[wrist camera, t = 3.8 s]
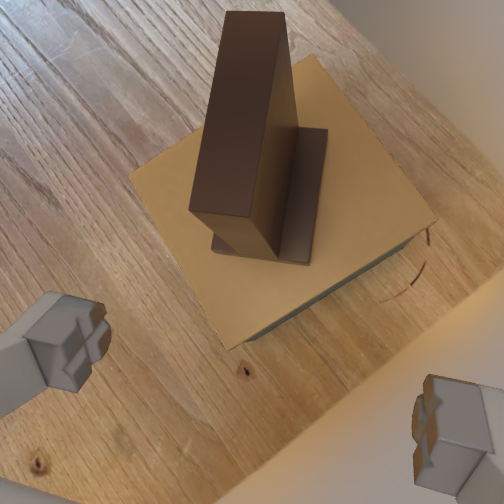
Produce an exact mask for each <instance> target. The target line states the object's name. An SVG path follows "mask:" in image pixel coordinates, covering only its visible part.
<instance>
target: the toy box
mask: <svg viewBox="0 0 504 504" xmlns="http://www.w3.org/2000/svg"><path fill="white" fill-rule="evenodd" d="M291 69H292V77H293V85H294V92H295V100H296V108H297V116H298V124H299V127H309V128H322V129H328V142H327V149H326V156H325V163H324V169H323V176H322V183H321V190H320V197H319V204H318V211H317V218H316V225H315V232H314V239H313V246H312V252H311V259H310V265H309V266H303V265H296V264H289V263H282V262H274V261H267V260H260V259H253V258H246V257H239V256H231V255H224V254H217V253H215V252H213V251H212V250H211V244H212V239H213V233H214V232H213V231H212V230H211V229H210V228H208V227H207V226H206V225H205V224H204V223H203V222H201V221H200V220H199V219H198V218H197V217H195V216H194V215H193V214H192V213H191V212H190V211H188V207H189V202H190V197H191V191H192V186H193V181H194V176H195V171H196V165H197V160H198V155H199V150H200V145H201V140H202V134H203V129H204V125H203V126H201V127H200V128H198V129H197V130H195V131H194V132H192V133H191V134H189V135H188V136H186V137H185V138H183V139H182V140H180V141H179V142H177V143H176V144H174V145H173V146H171V147H170V148H168V149H167V150H165V151H163V152H162V153H160V154H159V155H157V156H156V157H154V158H153V159H151V160H150V161H148V162H147V163H145V164H144V165H142V166H141V167H139V168H138V169H136V170H135V171H133V172H132V173H130V174H129V175H128V176H129V178H130V180H131V182H132V183H133V185H134V187H135V189H136V191H137V192H138V194H139V196H140V198H141V199H142V201H143V203H144V205H145V207H146V208H147V210H148V212H149V214H150V215H151V217H152V219H153V221H154V223H155V224H156V226H157V228H158V230H159V231H160V233H161V235H162V237H163V239H164V240H165V242H166V244H167V246H168V247H169V249H170V251H171V253H172V255H173V256H174V258H175V260H176V262H177V263H178V265H179V267H180V269H181V271H182V272H183V274H184V276H185V278H186V279H187V281H188V283H189V285H190V287H191V288H192V290H193V292H194V294H195V295H196V297H197V299H198V301H199V303H200V304H201V306H202V308H203V310H204V311H205V313H206V315H207V317H208V319H209V320H210V322H211V324H212V326H213V327H214V329H215V331H216V333H217V335H218V336H219V338H220V340H221V342H222V343H223V345H224V347H225V349H226V351H230V350H232V349H234V348H235V347H237V346H239V345H240V344H242V343H244V342H249V341H254V340H256V339H258V338H259V337H261V336H262V335H264V334H266V333H267V332H269V331H270V330H272V329H274V328H275V327H277V326H278V325H280V324H282V323H283V322H285V321H287V320H288V319H290V318H291V317H293V316H295V315H296V314H298V313H299V312H301V311H303V310H304V309H306V308H307V307H309V306H311V305H312V304H314V303H315V302H317V301H319V300H320V299H322V298H323V297H325V296H327V295H328V294H330V293H331V292H333V291H335V290H336V289H338V288H340V287H341V286H343V285H344V284H346V283H348V282H349V281H351V280H352V279H354V278H356V277H357V276H359V275H360V274H362V273H364V272H365V271H367V270H368V269H370V268H372V267H373V266H375V265H376V264H378V263H380V262H381V261H383V260H384V259H386V258H388V257H389V256H391V255H393V254H394V253H396V252H397V251H399V250H401V249H402V248H403V247H404V246H405V245H406V244H407V243H408V242H409V241H410V240H411V239H412V238H413V237H414V236H415V235H417V234H418V233H420V232H421V231H423V230H425V229H426V228H428V227H429V226H431V225H433V224H434V223H436V222H437V221H438V220H439V218H438V217H437V215H436V214H435V213H434V211H433V210H432V209H431V207H430V206H429V205H428V204H427V202H426V201H425V200H424V198H423V197H422V196H421V194H420V193H419V192H418V190H417V189H416V188H415V187H414V185H413V184H412V183H411V181H410V180H409V179H408V177H407V176H406V175H405V174H404V172H403V171H402V170H401V168H400V167H399V166H398V164H397V163H396V162H395V160H394V159H393V158H392V157H391V155H390V154H389V153H388V151H387V150H386V149H385V147H384V146H383V145H382V143H381V142H380V141H379V140H378V138H377V137H376V136H375V134H374V133H373V132H372V130H371V129H370V128H369V127H368V125H367V124H366V123H365V121H364V120H363V119H362V117H361V116H360V115H359V113H358V112H357V111H356V110H355V108H354V107H353V106H352V104H351V103H350V102H349V100H348V99H347V98H346V96H345V95H344V94H343V93H342V91H341V90H340V89H339V87H338V86H337V85H336V83H335V82H334V81H333V79H332V78H331V77H330V76H329V74H328V73H327V72H326V70H325V69H324V68H323V66H322V65H321V64H320V63H319V61H318V60H317V59H316V57H315V56H314V55H313V54H311V55H309V56H308V57H306V58H305V59H303V60H302V61H300V62H299V63H297V64H296V65H294V66H293V67H291Z"/></svg>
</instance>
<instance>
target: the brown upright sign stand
mask: <svg viewBox="0 0 504 504" xmlns="http://www.w3.org/2000/svg"><path fill="white" fill-rule="evenodd" d="M327 142H328V129H322V128H309V127H299V124H298V116H297V108H296V100H295V92H294V85H293V77H292V69H291V61H290V53H289V45H288V37H287V29H286V21H285V14H284V12H267V11H226V15H225V20H224V25H223V30H222V36H221V41H220V46H219V51H218V56H217V62H216V67H215V72H214V77H213V82H212V88H211V93H210V98H209V103H208V108H207V114H206V119H205V124H204V129H203V134H202V140H201V145H200V150H199V155H198V160H197V165H196V171H195V176H194V181H193V186H192V191H191V197H190V202H189V207H188V211H190V212H191V213H192V214H193V215H194V216H195V217H197V218H198V219H199V220H200V221H201V222H203V223H204V224H205V225H206V226H207V227H208V228H210V229H211V230H212V231H213V232H214V233H213V239H212V244H211V250H212V251H213V252H215V253H217V254H224V255H231V256H239V257H246V258H253V259H260V260H267V261H274V262H282V263H289V264H296V265H303V266H309V265H310V259H311V252H312V246H313V239H314V232H315V225H316V218H317V211H318V204H319V197H320V190H321V183H322V176H323V169H324V163H325V156H326V149H327Z"/></svg>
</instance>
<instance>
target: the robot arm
mask: <svg viewBox="0 0 504 504" xmlns="http://www.w3.org/2000/svg"><path fill="white" fill-rule="evenodd" d="M106 314H107V312H106V309H105V306H104V304H102V303H99V302H95V301H91V300H87V299H83V298H79V297H75V296H71V295H66V294H62V293H58V292H54V291H49V292H47V293H44V294H43V295H42V296H41V297H40V298H39V299H38V300H37V301H36V302H35V303H34V304H33V305H32V306H31V307H30V308H29V309H28V310H27V311H26V312H25V313H24V314H23V315H22V316H20V317H19V318H18V319H17V320H16V321H15V322H14V323H13V324H12V325H11V326H10V327H9V328H8V329H7V330H6V331H5V332H4V333H2V332H0V419H1V418H3V417H4V416H6V415H8V414H9V413H11V412H12V411H14V410H15V409H17V408H18V407H20V406H21V405H23V404H24V403H26V402H28V401H29V400H31V399H32V398H34V397H35V396H37V395H38V394H40V393H41V392H43V391H44V390H46V389H47V388H48V387H52V388H56V389H61V390H65V391H69V392H73V393H78V391H79V390H80V389H81V387H82V386H83V384H84V383H85V382H86V380H87V379H88V378H89V376H90V375H91V373H92V364H94V363H96V362H97V361H99V360H101V359H102V358H103V356H104V355H105V353H106V352H107V350H108V347H109V345H110V342H111V328H110V325H109V324H108V323H107V322H106V321H105V319H104V316H105V315H106ZM47 386H48V387H47ZM423 392H424V393H423V394H421V395H419V396H418V397H417V399H416V402H415V405H414V410H413V415H412V437H413V438H414V440H415V441H416V443H417V444H418V445H417V448H416V450H415V452H414V454H413V466H414V484H415V485H418V486H421V487H424V488H428V489H431V490H434V491H438V492H441V493H444V494H448V495H451V496H455V497H456V501H457V503H458V504H504V391H503V390H502V389H498V388H494V387H489V386H484V385H480V384H475V383H471V382H467V381H462V380H457V379H452V378H447V377H443V376H438V375H433V374H428V375H427V376H426V378H425V380H424V383H423ZM0 504H81V503H78V502H75V501H72V500H69V499H65V498H62V497H59V496H56V495H53V494H50V493H47V492H44V491H41V490H38V489H35V488H32V487H29V486H26V485H23V484H20V483H17V482H14V481H11V480H8V479H5V478H2V477H0Z"/></svg>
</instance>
